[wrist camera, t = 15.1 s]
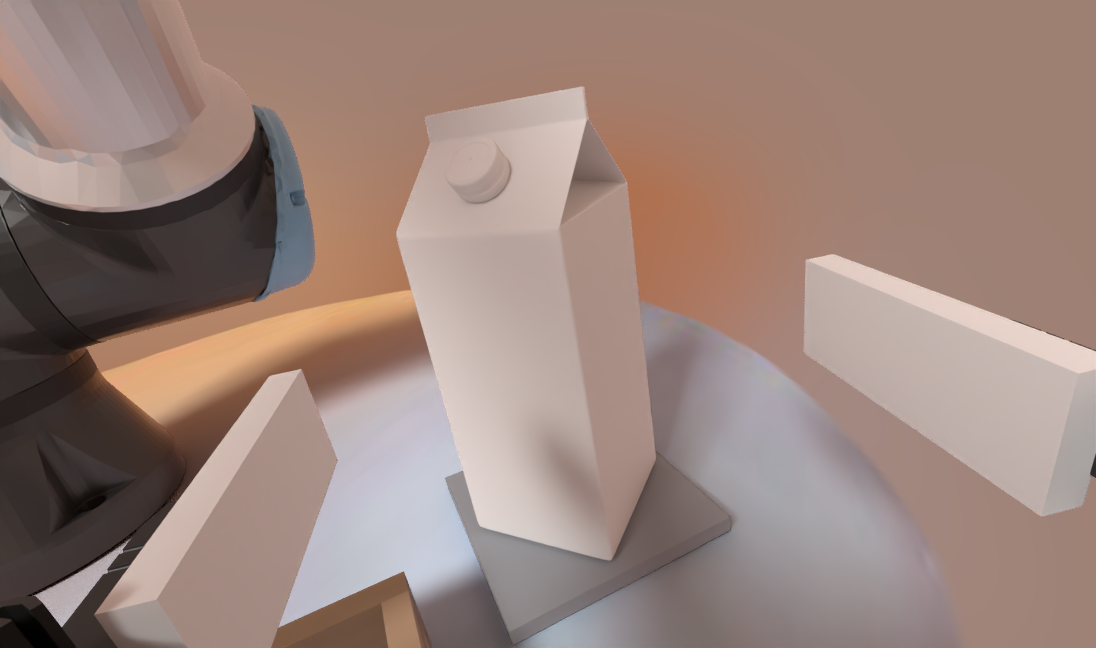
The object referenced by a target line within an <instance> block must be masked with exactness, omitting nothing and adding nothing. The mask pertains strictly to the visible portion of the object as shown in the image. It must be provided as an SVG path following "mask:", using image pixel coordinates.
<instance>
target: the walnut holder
mask: <svg viewBox="0 0 1096 648" xmlns="http://www.w3.org/2000/svg"><path fill="white" fill-rule="evenodd" d="M271 648H432V647H431V643H430V640H429V637H428V635H427V632H426V629H425V627H424V624H423V621H422V619H421V616H420V613H419V611H418V608H417V605H416V603H415V600H414V597H413V595H412V592H411V589H410V587H409V584H408V581H407V579H406V576H405V573H404V571H403V572H401V573H399V574H397V575H395V576H392V577H390V578H388V579H386V580H383V581H381V582H379V583H377V584H375V585H372V586H370V587H368V588H366V589H363V590H361V591H359V592H357V593H355V594H352V595H350V596H348V597H346V598H343V599H341V600H339V601H337V602H335V603H332V604H330V605H328V606H326V607H324V608H321V609H319V610H317V611H315V612H312V613H310V614H308V615H306V616H304V617H301V618H299V619H297V620H295V621H292V622H290V623H288V624H286V625H284V626H281V627H279V628H278V630H277V632H276V635H275V638H274V641H273V644H272V646H271Z"/></svg>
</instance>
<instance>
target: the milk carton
mask: <svg viewBox="0 0 1096 648" xmlns="http://www.w3.org/2000/svg"><path fill="white" fill-rule="evenodd" d="M424 119H425V123H426V127H427V132H428V136H429V140H430V145H429V148H428V151H427V153H426V156H425V158H424V161H423V164H422V166H421V169H420V171H419V174H418V177H417V180H416V182H415V185H414V187H413V190H412V192H411V195H410V198H409V200H408V203H407V206H406V208H405V211H404V213H403V216H402V219H401V221H400V224H399V227H398V229H397V232H396V236H397V240H398V244H399V248H400V252H401V255H402V258H403V262H404V266H405V269H406V273H407V276H408V280H409V283H410V287H411V290H412V294H413V297H414V301H415V304H416V308H417V311H418V315H419V318H420V322H421V325H422V329H423V332H424V336H425V339H426V343H427V346H428V350H429V353H430V357H431V360H432V364H433V367H434V371H435V374H436V378H437V381H438V385H439V388H440V392H441V395H442V399H443V402H444V406H445V409H446V413H447V416H448V420H449V423H450V427H451V430H452V434H453V437H454V441H455V444H456V448H457V451H458V455H459V458H460V462H461V465H462V469H463V472H464V476H465V479H466V483H467V486H468V490H469V493H470V497H471V500H472V504H473V507H474V511H475V514H476V518H477V521H478V524H479V525H480V526H481V527H483V528H486V529H490V530H493V531H497V532H501V533H505V534H508V535H512V536H516V537H520V538H524V539H527V540H531V541H535V542H539V543H542V544H546V545H550V546H554V547H557V548H561V549H565V550H569V551H573V552H576V553H580V554H584V555H588V556H592V557H595V558H599V559H603V560H609V561H610V560H612V558H613V557H614V554H615V552H616V550H617V548H618V545H619V543H620V541H621V538H622V536H623V534H624V532H625V529H626V527H627V525H628V522H629V520H630V518H631V516H632V513H633V511H634V509H635V506H636V504H637V502H638V500H639V497H640V495H641V493H642V490H643V488H644V486H645V484H646V481H647V479H648V477H649V474H650V472H651V470H652V468H653V465H654V463H655V461H656V452H655V443H654V433H653V424H652V414H651V405H650V395H649V386H648V377H647V367H646V358H645V348H644V339H643V329H642V320H641V310H640V301H639V292H638V283H637V273H636V263H635V254H634V245H633V235H632V225H631V216H630V206H629V198H628V188H627V181H626V179H625V177H624V176H623V174H622V173H621V171H620V170H619V168H618V166H617V165H616V163H615V161H614V160H613V158H612V156H611V155H610V153H609V151H608V150H607V148H606V147H605V145H604V143H603V142H602V140H601V138H600V137H599V135H598V134H597V132H596V130H595V129H594V127H593V125H592V124H591V122H590V121H589V119H588V112H587V104H586V97H585V89H584V87H577V88H572V89H567V90H561V91H556V92H551V93H545V94H540V95H535V96H530V97H524V98H519V99H514V100H509V101H503V102H498V103H492V104H487V105H482V106H476V107H472V108H466V109H461V110H455V111H450V112H445V113H439V114H434V115H429V116H425V117H424Z"/></svg>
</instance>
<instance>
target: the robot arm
mask: <svg viewBox="0 0 1096 648" xmlns="http://www.w3.org/2000/svg"><path fill="white" fill-rule="evenodd" d="M304 195H305V190H304V185H303V179H302V175H301V171H300V167H299V164H298V161H297V157H296V154H295V151H294V148H293V145H292V143H291V140H290V137H289V135H288V133H287V131H286V129H285V127H284V125H283V122H282V121H281V119H280V117H279V116H278V115H277V113H276V112H275V111H273V110H272V109H270V108H267V107H258V106H255V105H252V104H250V101H249V99H248V97H247V95H246V94H245V92H244V91H243V90H242V89H241V87H240V86H239V85H238V84H237V83H236V82H235V81H234V80H233V79H232V78H230V77H229V76H228V75H227V74H225V73H224V72H222V71H220V70H219V69H217V68H215V67H214V66H211V65H209V64H207V63H205V62H202V59H201V57H200V54H199V52H198V49H197V46H196V44H195V41H194V39H193V36H192V34H191V31H190V29H189V26H188V24H187V21H186V19H185V16H184V14H183V11H182V8H181V6H180V3H179V1H178V0H0V648H271V646H272V644H273V641H274V638H275V635H276V632H277V630H278V627H279V624H280V621H281V618H282V616H283V613H284V610H285V607H286V604H287V602H288V599H289V596H290V593H291V590H292V587H293V585H294V582H295V579H296V576H297V573H298V571H299V568H300V565H301V562H302V559H303V557H304V554H305V551H306V548H307V545H308V543H309V540H310V537H311V534H312V531H313V528H314V526H315V523H316V520H317V517H318V514H319V512H320V509H321V506H322V503H323V500H324V498H325V495H326V492H327V489H328V486H329V484H330V481H331V478H332V475H333V472H334V469H335V467H336V464H337V461H338V460H337V457H336V455H335V452H334V450H333V447H332V445H331V442H330V439H329V437H328V434H327V432H326V429H325V427H324V424H323V422H322V419H321V417H320V414H319V412H318V409H317V407H316V404H315V402H314V399H313V397H312V394H311V392H310V389H309V387H308V384H307V382H306V379H305V377H304V374H303V372H302V369H299V370H294V371H290V372H285V373H280V374H276V375H271V376H269V377H268V379H267V380H266V381H265V383H264V384H263V385H262V387H261V388H260V389H259V391H258V392H257V393H256V395H255V396H254V398H253V399H252V400H251V402H250V403H249V404H248V406H247V407H246V408H245V410H244V411H243V413H242V414H241V415H240V417H239V418H238V419H237V421H236V422H235V423H234V425H233V426H232V428H231V429H230V430H229V432H228V433H227V434H226V436H225V437H224V438H223V440H222V441H221V443H220V444H219V445H218V447H217V448H216V449H215V451H214V452H213V453H212V455H211V456H210V457H209V459H208V460H207V462H206V463H205V464H204V466H203V467H202V468H201V470H200V471H199V472H198V474H197V475H196V477H195V478H194V479H193V481H192V482H191V483H190V485H189V486H188V487H187V489H186V490H185V492H184V493H183V494H182V496H181V497H180V498H179V500H178V501H177V502H173V503H169V504H167V505H166V506H164V507H163V508H162V509H161V510H160V511H158V512H157V513H156V514H155V515H154V516H153V517H151V516H152V515H153V514H154V513H155V512H156V511H157V510H158V509H159V508H160V507H161V506H162V505H163V504H164V503H165V502H166V501H167V500H168V499H169V497H170V496H171V495H172V494H173V492H174V491H175V490H176V488H177V487H178V485H179V484H180V482H181V480H182V478H183V476H184V472H185V468H186V463H185V459H184V457H183V455H182V454H181V452H180V450H179V448H178V446H177V444H176V443H175V441H174V439H173V437H172V436H171V435H170V433H169V432H168V431H167V430H166V429H165V428H164V427H162V426H161V425H160V424H159V423H157V422H156V421H155V420H154V419H153V418H151V417H150V416H149V415H148V414H147V413H145V412H144V411H143V410H142V409H141V408H139V407H138V406H137V405H136V404H134V403H133V402H132V401H131V400H130V399H128V398H127V397H126V396H125V395H124V394H122V393H121V392H120V391H119V390H117V389H116V388H115V387H114V386H113V385H111V384H110V383H109V382H108V381H107V380H106V379H105V378H104V377H103V376H102V374H101V373H100V371H99V370H98V368H97V367H96V364H95V363H94V361H93V359H92V357H91V356H90V354H89V352H88V350H87V349H86V347H87V346H91V345H94V344H97V343H101V342H105V341H107V340H111V339H114V338H118V337H122V336H126V335H130V334H133V333H137V332H140V331H144V330H148V329H152V328H156V327H159V326H163V325H167V324H170V323H174V322H177V321H181V320H185V319H189V318H193V317H197V316H200V315H204V314H208V313H211V312H215V311H219V310H223V309H226V308H230V307H234V306H237V305H241V304H245V303H248V302H257V301H261V300H263V299H265V298H266V297H267V296H268V295H270V294H273V293H275V292H279V291H281V290H285V289H288V288H291V287H294V286H296V285H299V284H301V283H302V282H303V281H305V280H306V279H307V277H309V275H310V274H311V271H312V270H313V267H314V262H315V240H314V232H313V225H312V219H311V214H310V209H309V205H308V202H307V200H306V198H305V196H304ZM804 313H805V314H804V353H805V354H806V355H808V356H809V357H810V358H812V359H813V360H815V361H816V362H818V363H819V364H821V365H822V366H823V367H825V368H826V369H828V370H829V371H831V372H832V373H834V374H835V375H837V376H838V377H839V378H841V379H842V380H844V381H845V382H847V383H848V384H850V385H851V386H852V387H854V388H855V389H857V390H858V391H860V392H861V393H863V394H864V395H866V396H867V397H868V398H870V399H871V400H873V401H874V402H876V403H877V404H879V405H880V406H882V407H883V408H884V409H886V410H887V411H889V412H890V413H892V414H893V415H895V416H896V417H897V418H899V419H900V420H902V421H903V422H905V423H906V424H908V425H909V426H910V427H912V428H914V429H915V430H916V431H918V432H919V433H921V434H922V435H924V436H925V437H927V438H928V439H929V440H931V441H932V442H934V443H935V444H937V445H938V446H940V447H941V448H942V449H944V450H945V451H947V452H948V453H950V454H951V455H953V456H954V457H955V458H957V459H958V460H960V461H961V462H963V463H964V464H966V465H967V466H969V467H970V468H972V469H973V470H974V471H976V472H977V473H979V474H980V475H982V476H983V477H984V478H986V479H987V480H989V481H990V482H992V483H993V484H995V485H996V486H997V487H999V488H1000V489H1002V490H1003V491H1005V492H1006V493H1008V494H1009V495H1011V496H1012V497H1014V498H1015V499H1016V500H1018V501H1019V502H1021V503H1022V504H1024V505H1025V506H1026V507H1028V508H1029V509H1031V510H1033V511H1034V512H1035V513H1037V514H1038V515H1040V516H1041V517H1043V516H1047V515H1050V514H1055V513H1058V512H1062V511H1066V510H1069V509H1073V508H1077V507H1081V506H1083V503H1084V499H1085V496H1086V493H1087V489H1088V486H1089V482H1090V479H1091V476H1094V477H1095V478H1096V350H1094V349H1091V348H1088V347H1085V346H1082V345H1080V344H1077V343H1074V342H1072V341H1066V340H1064V338H1061V337H1058V336H1055V335H1053V334H1050V333H1047V332H1046V333H1045V332H1042V331H1041V330H1039V329H1036V328H1034V327H1031V326H1028V325H1026V324H1023V323H1020V322H1017V321H1015V320H1011V319H1007V318H1004V317H1002V316H999V315H996V314H994V313H991V312H988V311H985V310H983V309H980V308H977V307H975V306H972V305H969V304H967V303H964V302H961V301H958V300H955V299H953V298H950V297H948V296H945V295H942V294H940V293H937V292H934V291H931V290H928V289H926V288H923V287H921V286H918V285H915V284H913V283H910V282H907V281H904V280H902V279H899V278H896V277H894V276H891V275H888V274H886V273H883V272H880V271H877V270H875V269H872V268H869V267H867V266H864V265H861V264H858V263H856V262H853V261H850V260H848V259H845V258H842V257H840V256H837V255H834V254H831V255H826V256H821V257H817V258H812V259H808V260H806V272H805V312H804ZM150 517H151V518H150ZM149 518H150V519H149ZM148 519H149V520H148ZM147 520H148V521H147ZM145 521H147V522H145ZM144 522H145V523H144ZM143 523H144V524H143ZM142 524H143V525H142ZM141 525H142V526H141ZM139 526H141V527H140V528H139V529H138V531H137V532H136V533H135V534H134V536H133V537H132V538H131V540H130V541H129V542H128V543H127V545H126V546H125V547H124V549H123V553H122V554H119V555H118V556H117V558H116V559H115V560H114V561H113V563H112V564H111V565H110V567H109V568H108V569H107V570H108V573H107V574H103V576H102V577H101V578H100V579H99V581H98V582H97V583H96V585H95V586H94V587H93V588H92V590H91V591H90V592H89V594H88V595H87V596H86V597H85V599H84V600H83V601H82V603H81V604H80V605H79V606H78V608H77V609H76V610H75V612H74V613H73V614H72V615H71V617H70V618H69V619H68V621H67V622H66V623H65V624H64V626H63V627H61V626H60V625H59V624H58V622H57V621H56V620H55V618H54V617H53V616H52V614H51V613H50V612H49V611H48V609H47V608H46V607H45V605H44V604H43V603H42V602H41V601H40V600H39V599H38V598H37V597H36V596H27V595H29V594H32V593H34V592H36V591H38V590H40V589H42V588H44V587H46V586H48V585H50V584H52V583H53V582H55V581H57V580H59V579H61V578H63V577H65V576H66V575H68V574H70V573H72V572H74V571H75V570H77V569H79V568H80V567H82V566H84V565H85V564H87V563H89V562H90V561H92V560H93V559H95V558H97V557H98V556H100V555H101V554H103V553H104V552H106V551H107V550H109V549H110V548H112V547H113V546H114V545H116V544H117V543H119V542H120V541H121V540H123V539H124V538H125V537H127V536H128V535H129V534H131V533H132V532H133V531H134V530H136V529H137V528H138V527H139Z"/></svg>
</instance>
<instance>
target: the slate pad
mask: <svg viewBox="0 0 1096 648" xmlns="http://www.w3.org/2000/svg"><path fill="white" fill-rule="evenodd" d="M655 452H656V451H655ZM445 479H446V482H447V486H448V489H449V491H450V494H451V496H452V499H453V501H454V503H455V506H456V508H457V511H458V513H459V516H460V518H461V520H462V523H463V525H464V528H465V530H466V533H467V535H468V537H469V540H470V542H471V545H472V547H473V550H474V552H475V554H476V557H477V559H478V562H479V564H480V567H481V569H482V571H483V574H484V576H485V579H486V581H487V584H488V586H489V588H490V591H491V593H492V596H493V598H494V601H495V603H496V605H497V608H498V610H499V613H500V615H501V618H502V620H503V622H504V625H505V627H506V630H507V632H508V635H509V637H510V639H511V642H512V644H513V645H515V644H517V643H519V642H521V641H523V640H525V639H526V638H528V637H530V636H532V635H534V634H536V633H538V632H540V631H542V630H543V629H545V628H547V627H549V626H551V625H553V624H555V623H557V622H558V621H560V620H562V619H564V618H566V617H568V616H570V615H572V614H574V613H575V612H577V611H579V610H581V609H583V608H585V607H587V606H589V605H591V604H592V603H594V602H596V601H598V600H600V599H602V598H604V597H606V596H607V595H609V594H611V593H613V592H615V591H617V590H619V589H621V588H623V587H624V586H626V585H628V584H630V583H632V582H634V581H636V580H638V579H640V578H641V577H643V576H645V575H647V574H649V573H651V572H653V571H655V570H656V569H658V568H660V567H662V566H664V565H666V564H668V563H670V562H672V561H673V560H675V559H677V558H679V557H681V556H683V555H685V554H687V553H689V552H690V551H692V550H694V549H696V548H698V547H700V546H702V545H704V544H705V543H707V542H709V541H711V540H713V539H715V538H717V537H719V536H721V535H722V534H724V533H726V532H728V531H730V530H731V517H730V516H729V515H728V514H727V513H726V512H724V511H723V510H722V509H721V508H720V507H719V506H718V505H716V504H715V503H714V502H713V501H712V500H711V499H710V498H709V497H707V496H706V495H705V494H704V493H703V492H702V491H701V490H699V489H698V488H697V487H696V486H695V485H694V484H693V483H691V482H690V481H689V480H688V479H687V478H686V477H685V476H684V475H682V474H681V473H680V472H679V471H678V470H677V469H676V468H674V467H673V466H672V465H671V464H670V463H669V462H668V461H666V460H665V459H664V458H663V457H662V456H661V455H660V454H659V453H657V452H656V461H655V463H654V465H653V468H652V470H651V472H650V474H649V477H648V479H647V481H646V484H645V486H644V488H643V490H642V493H641V495H640V497H639V500H638V502H637V504H636V506H635V509H634V511H633V513H632V516H631V518H630V520H629V522H628V525H627V527H626V529H625V532H624V534H623V536H622V538H621V541H620V543H619V545H618V548H617V550H616V552H615V554H614V557H613V558H612V560H610V561H609V560H603V559H599V558H595V557H592V556H588V555H584V554H580V553H576V552H573V551H569V550H565V549H561V548H557V547H554V546H550V545H546V544H542V543H539V542H535V541H531V540H527V539H524V538H520V537H516V536H512V535H508V534H505V533H501V532H497V531H493V530H490V529H486V528H483V527H481V526H480V525H479V524H478V521H477V518H476V514H475V511H474V507H473V504H472V500H471V497H470V493H469V490H468V486H467V483H466V479H465V476H464V472H463V471H461V472H459V473H456V474H454V475H451V476H449V477H446V478H445Z"/></svg>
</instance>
